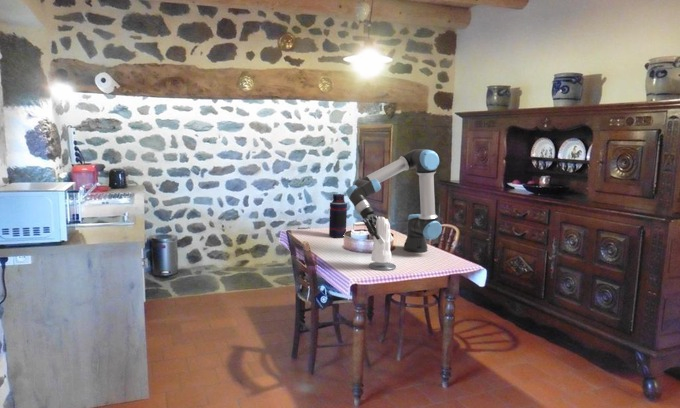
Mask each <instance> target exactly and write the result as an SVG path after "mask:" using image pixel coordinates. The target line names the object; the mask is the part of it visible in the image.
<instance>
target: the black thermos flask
mask: <svg viewBox="0 0 680 408" xmlns="http://www.w3.org/2000/svg"><path fill="white" fill-rule="evenodd" d="M332 198H333V199H332V201H331V202H330V203H329V221H328V222H329V227H328V228H329V230H328V233H329V236H330V237H332V238H333V239H337V238H340V237H341V238H343V235H344V233H345V232H346V233H347V213H348V211H347V210H348V203H347V202H346V201H345V194H342V193H335V194H332Z"/></svg>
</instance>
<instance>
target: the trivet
mask: <svg viewBox="0 0 680 408" xmlns="http://www.w3.org/2000/svg"><path fill="white" fill-rule="evenodd" d="M368 267H369V268H370V269H372V270H375V271H382V272H384V271H385V272H387V271H389V272H390V271H394V270H395V269H397V266H396V264H395V263H391V262H387V263H379V262H374V261H372V262H370V263H368Z"/></svg>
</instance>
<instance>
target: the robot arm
mask: <svg viewBox="0 0 680 408" xmlns="http://www.w3.org/2000/svg"><path fill="white" fill-rule="evenodd" d="M439 165H440V158H439V155H438V153H437V152H436V151H434V150H432V149H425V148H424V149H422V148H416V149H413V150H409V152H406V153H405V154H402V155H401V156H399V158H398V159H396V160H395V161H393V162H390V163H389V164H386V165H385V166H383V167H381V168H380V169H377V170H376V171H373V172H372V173H369V174H368V175H366V176H363V177H362V178H356V179H354V180H353V182H352V185H351V186H349V187H348V188H347V189H346V191H345V194H346V196H347V198H348V199H349V200H350V202H351V203H352V205H353V206H354V208H355V209H356V211H357V212H358V213H359V215H360V216H361V218H362V222H363V223H364V224H365V227H366V229H367V231H368V233H369V235H370V236H372V237H374V236H375V237H376V239H377V240H378V242H379V243H380V245H382V244H383V243H384V240H383V239H382V237H381V236H380V234H379V233H377V231H376V221H377V218H378V216H379V217H380V219H381V216H380V215H379V214H378V215H376V214H375V210H374V209H373V207H372V206H371V204H370V203H369V201H368V200H367V198H368V197H370V196H372V195H374V194H376V193H378V192H379V191H380V190H381V189H382V186H381V183H383V182H384V181H386V180H388V179H390V178H392V177H395V176H396V175H398V174H400V173H401V172H403V171H409V170H411V169H415V170H416V172H415V173H416V174H417V175H418V181H419V183H418V184H419V199H420V200H419V201H420V213H416V214H414V213H413V214H409V215H408V217H407V231H406V239H405V242H404V244H403V250H404V251H406V252H411V253H425V252H428V250H429V247H428V244H427V240H436V239H437V238H438V237H439V236H440V235H441V233H442V231H443V228H442V224H441V223H440V222H439V216H438V215H437V214H436V204H435V203H436V201H435V178H434V176H435V174H436V173H437V168H438V167H439ZM394 240H395V238H394V237H393V236H392V234H391V233H390V243H392V242H393V241H394Z"/></svg>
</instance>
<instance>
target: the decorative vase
mask: <svg viewBox="0 0 680 408" xmlns="http://www.w3.org/2000/svg"><path fill="white" fill-rule="evenodd" d="M379 216H380V215H379ZM379 216H378V218H377V221H376V225H375V228H376V231H377V233H379V234H380V236H381V237H382V239H383V240H384V243H383V244H382V245H380V243H379V242H378V240H377V239H376V237H375V236H373V243H372V250H371V261H372V262H379V263H387V262H388V263H391V261H392V252H391V242H390V234H391V224H390V223H391V222H389V219H388V218H385V217H384V216H380V217H379ZM380 218H381V219H380Z"/></svg>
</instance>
